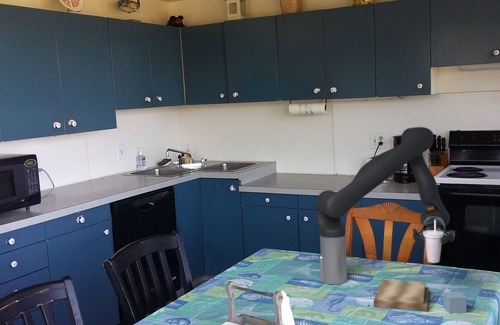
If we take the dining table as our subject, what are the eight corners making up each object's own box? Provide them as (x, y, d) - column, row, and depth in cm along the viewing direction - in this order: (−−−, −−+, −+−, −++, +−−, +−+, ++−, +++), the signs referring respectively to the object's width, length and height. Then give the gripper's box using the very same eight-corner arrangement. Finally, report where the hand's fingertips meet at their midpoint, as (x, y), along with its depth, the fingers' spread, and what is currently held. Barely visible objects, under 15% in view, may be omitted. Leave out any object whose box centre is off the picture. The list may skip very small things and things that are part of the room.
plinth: (373, 307, 166) (373, 294, 165) (379, 289, 181) (379, 278, 180) (426, 311, 160) (426, 298, 160) (428, 293, 175) (428, 281, 175)
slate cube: (449, 314, 158) (449, 298, 157) (443, 307, 163) (443, 292, 162) (466, 313, 158) (466, 297, 157) (459, 306, 163) (459, 291, 162)
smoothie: (445, 264, 170) (445, 222, 168) (424, 263, 171) (424, 222, 169) (442, 258, 176) (442, 217, 174) (422, 257, 177) (421, 217, 175)
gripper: (412, 217, 188) (409, 228, 172) (455, 218, 183) (456, 230, 167) (412, 237, 189) (409, 250, 173) (455, 239, 184) (456, 253, 168)
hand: (432, 240), depth 170 cm, fingers closed on smoothie, 6 cm apart
